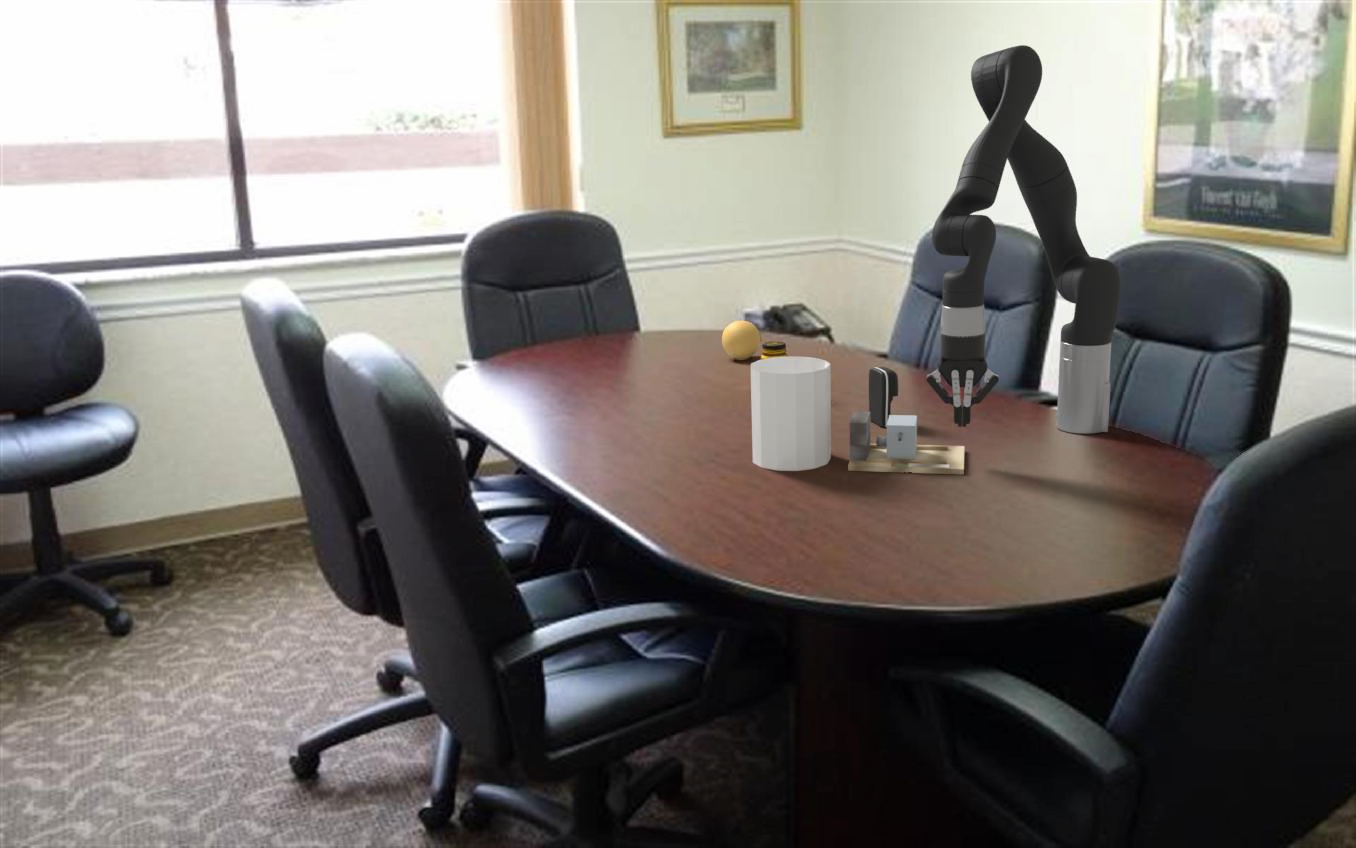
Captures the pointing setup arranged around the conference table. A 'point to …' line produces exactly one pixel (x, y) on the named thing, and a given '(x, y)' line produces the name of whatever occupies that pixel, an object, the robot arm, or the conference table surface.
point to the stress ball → (741, 339)
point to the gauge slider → (900, 437)
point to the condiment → (773, 349)
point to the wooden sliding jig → (875, 459)
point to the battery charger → (881, 393)
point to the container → (791, 413)
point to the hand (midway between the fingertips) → (961, 425)
